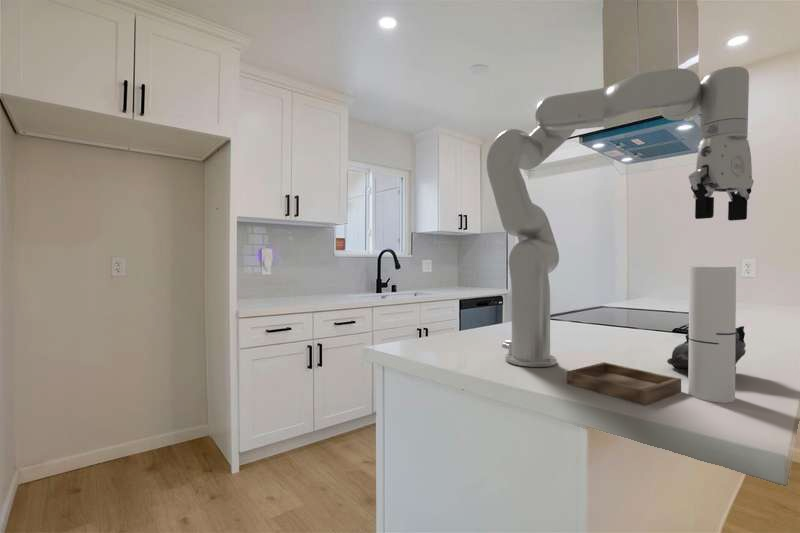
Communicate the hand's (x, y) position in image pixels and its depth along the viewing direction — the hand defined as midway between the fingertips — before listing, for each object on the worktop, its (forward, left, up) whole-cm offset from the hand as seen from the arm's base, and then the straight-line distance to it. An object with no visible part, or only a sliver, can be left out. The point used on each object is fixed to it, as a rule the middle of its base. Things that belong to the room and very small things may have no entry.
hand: (720, 219), depth 82 cm
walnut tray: (-12, -15, -35) cm, 39 cm away
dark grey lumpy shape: (-6, +10, -35) cm, 37 cm away
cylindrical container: (+1, -7, -35) cm, 35 cm away
